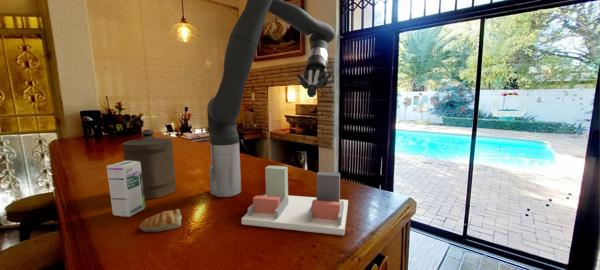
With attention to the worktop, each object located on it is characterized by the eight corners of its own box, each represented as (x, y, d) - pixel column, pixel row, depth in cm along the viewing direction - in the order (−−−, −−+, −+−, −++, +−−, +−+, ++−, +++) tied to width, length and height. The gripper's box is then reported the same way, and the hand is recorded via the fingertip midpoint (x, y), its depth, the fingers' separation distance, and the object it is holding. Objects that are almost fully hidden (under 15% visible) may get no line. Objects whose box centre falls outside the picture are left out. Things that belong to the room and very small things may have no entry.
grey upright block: (316, 210, 70) (316, 174, 69) (318, 205, 73) (318, 171, 72) (338, 212, 69) (339, 176, 67) (339, 207, 72) (340, 172, 70)
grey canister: (176, 183, 100) (171, 126, 97) (176, 195, 86) (171, 130, 83) (130, 189, 93) (124, 128, 90) (123, 203, 80) (115, 133, 77)
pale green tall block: (266, 200, 77) (265, 168, 76) (269, 196, 80) (268, 165, 79) (285, 202, 76) (284, 169, 75) (288, 198, 79) (287, 166, 77)
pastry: (138, 237, 61) (136, 222, 60) (141, 225, 67) (140, 211, 66) (182, 228, 65) (181, 214, 64) (181, 217, 71) (180, 204, 70)
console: (241, 224, 66) (240, 203, 65) (266, 198, 83) (266, 181, 83) (344, 235, 60) (344, 213, 59) (348, 204, 77) (348, 187, 77)
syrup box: (129, 217, 71) (124, 165, 69) (111, 215, 72) (106, 164, 70) (146, 208, 76) (141, 160, 74) (129, 207, 77) (124, 160, 75)
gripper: (298, 54, 94) (289, 87, 84) (334, 52, 91) (330, 86, 81) (301, 71, 100) (294, 103, 90) (335, 69, 97) (331, 103, 87)
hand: (311, 95), depth 85 cm, fingers closed
